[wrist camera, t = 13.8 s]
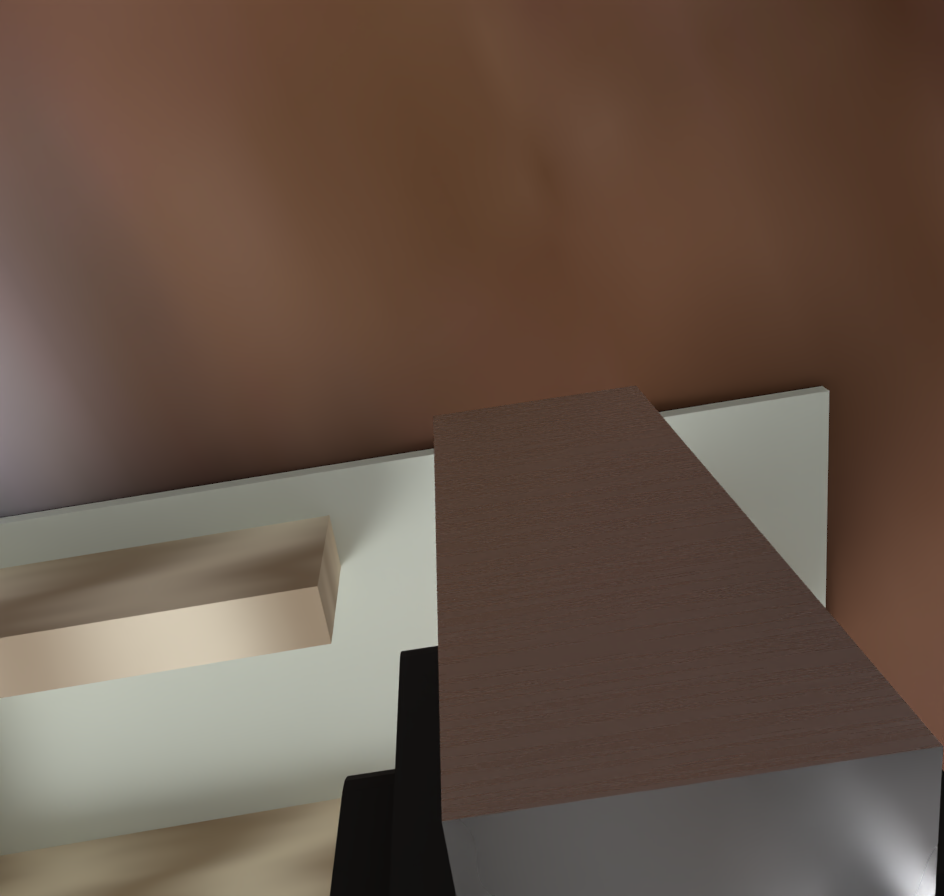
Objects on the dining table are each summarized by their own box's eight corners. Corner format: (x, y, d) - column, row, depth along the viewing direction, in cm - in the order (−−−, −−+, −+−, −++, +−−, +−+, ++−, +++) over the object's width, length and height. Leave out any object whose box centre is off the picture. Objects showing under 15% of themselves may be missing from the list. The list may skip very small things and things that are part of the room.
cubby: (329, 515, 22) (317, 586, 19) (400, 827, 26) (400, 930, 23) (-203, 601, 22) (-309, 688, 18) (-49, 904, 26) (-114, 1019, 22)
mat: (822, 385, 22) (829, 390, 22) (816, 777, 27) (822, 786, 27) (-213, 552, 22) (-224, 560, 21) (-28, 921, 27) (-34, 932, 26)
